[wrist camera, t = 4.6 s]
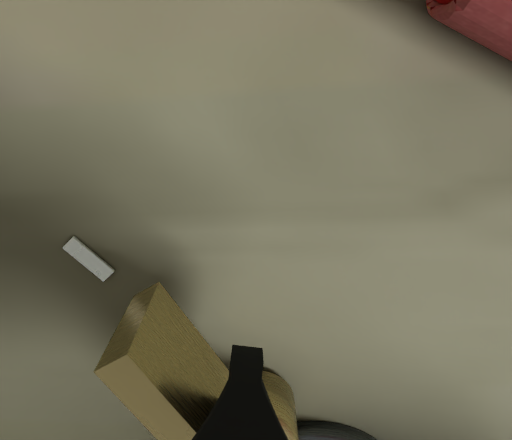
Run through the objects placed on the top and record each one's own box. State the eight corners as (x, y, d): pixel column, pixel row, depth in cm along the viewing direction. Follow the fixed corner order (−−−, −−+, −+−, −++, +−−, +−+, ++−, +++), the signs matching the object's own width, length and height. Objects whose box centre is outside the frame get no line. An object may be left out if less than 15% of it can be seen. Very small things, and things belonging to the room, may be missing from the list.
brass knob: (307, 410, 16) (326, 535, 12) (244, 438, 17) (239, 567, 12) (191, 250, 14) (161, 336, 9) (120, 290, 14) (61, 388, 10)
